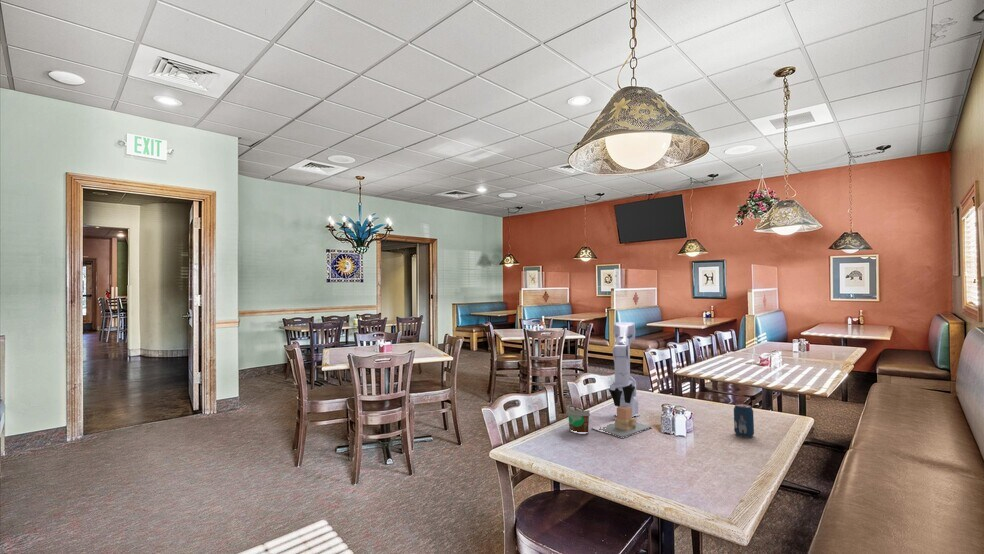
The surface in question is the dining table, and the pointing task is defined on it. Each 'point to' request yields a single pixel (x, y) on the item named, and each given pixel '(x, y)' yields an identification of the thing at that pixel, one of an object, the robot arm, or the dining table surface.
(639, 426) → the slate board
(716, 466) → the dining table surface
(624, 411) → the terracotta block
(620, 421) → the oak base block
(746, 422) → the soda can
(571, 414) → the food container
